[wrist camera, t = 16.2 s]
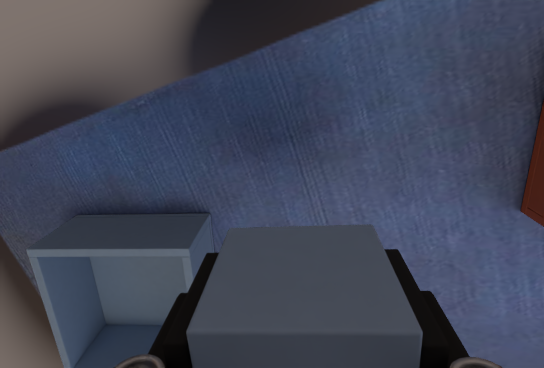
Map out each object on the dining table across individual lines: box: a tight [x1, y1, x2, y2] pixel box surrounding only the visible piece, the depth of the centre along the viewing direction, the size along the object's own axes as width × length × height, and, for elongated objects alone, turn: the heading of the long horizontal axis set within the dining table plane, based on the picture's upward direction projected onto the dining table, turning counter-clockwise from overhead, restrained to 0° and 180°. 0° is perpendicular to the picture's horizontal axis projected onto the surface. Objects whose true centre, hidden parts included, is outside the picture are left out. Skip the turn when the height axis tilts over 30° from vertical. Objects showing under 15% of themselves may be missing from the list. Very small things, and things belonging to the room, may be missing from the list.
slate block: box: [186, 225, 423, 368], centre depth 9 cm, size 4×4×4 cm
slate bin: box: [26, 213, 215, 368], centre depth 27 cm, size 11×11×6 cm
